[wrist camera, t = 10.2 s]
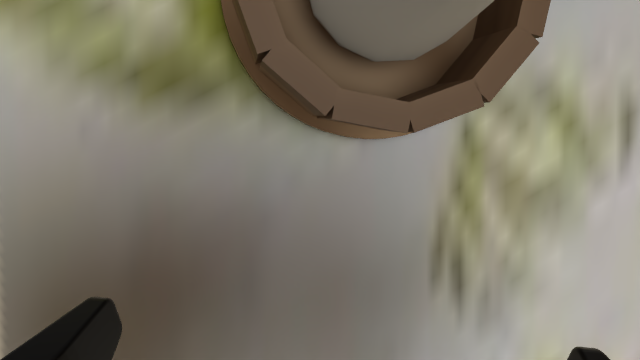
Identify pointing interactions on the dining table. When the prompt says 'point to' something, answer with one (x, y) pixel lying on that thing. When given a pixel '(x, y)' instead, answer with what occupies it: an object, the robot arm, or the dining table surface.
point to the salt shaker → (394, 24)
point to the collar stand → (378, 67)
